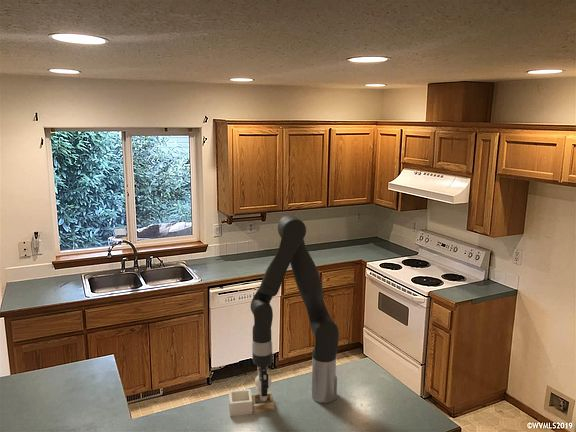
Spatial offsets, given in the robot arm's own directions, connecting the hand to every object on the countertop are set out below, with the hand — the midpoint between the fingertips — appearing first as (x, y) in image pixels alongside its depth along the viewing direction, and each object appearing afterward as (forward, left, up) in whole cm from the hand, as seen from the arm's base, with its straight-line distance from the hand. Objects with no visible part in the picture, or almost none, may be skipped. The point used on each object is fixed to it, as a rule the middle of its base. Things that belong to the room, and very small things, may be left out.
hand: (263, 390), depth 175 cm
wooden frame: (0, 0, -6) cm, 6 cm away
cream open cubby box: (+9, 0, -6) cm, 11 cm away
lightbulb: (0, 0, -4) cm, 4 cm away
